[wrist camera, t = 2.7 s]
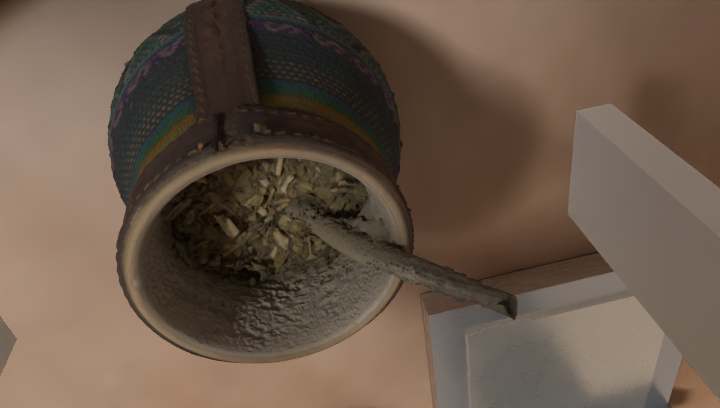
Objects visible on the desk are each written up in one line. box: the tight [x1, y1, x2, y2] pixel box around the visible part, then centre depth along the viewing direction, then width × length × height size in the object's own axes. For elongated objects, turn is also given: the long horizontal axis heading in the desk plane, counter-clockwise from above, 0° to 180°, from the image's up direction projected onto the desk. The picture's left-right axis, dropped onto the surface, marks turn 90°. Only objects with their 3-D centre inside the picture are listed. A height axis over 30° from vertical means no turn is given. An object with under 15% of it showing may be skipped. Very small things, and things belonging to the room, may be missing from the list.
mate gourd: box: [108, 0, 518, 363], centre depth 13 cm, size 7×8×10 cm
